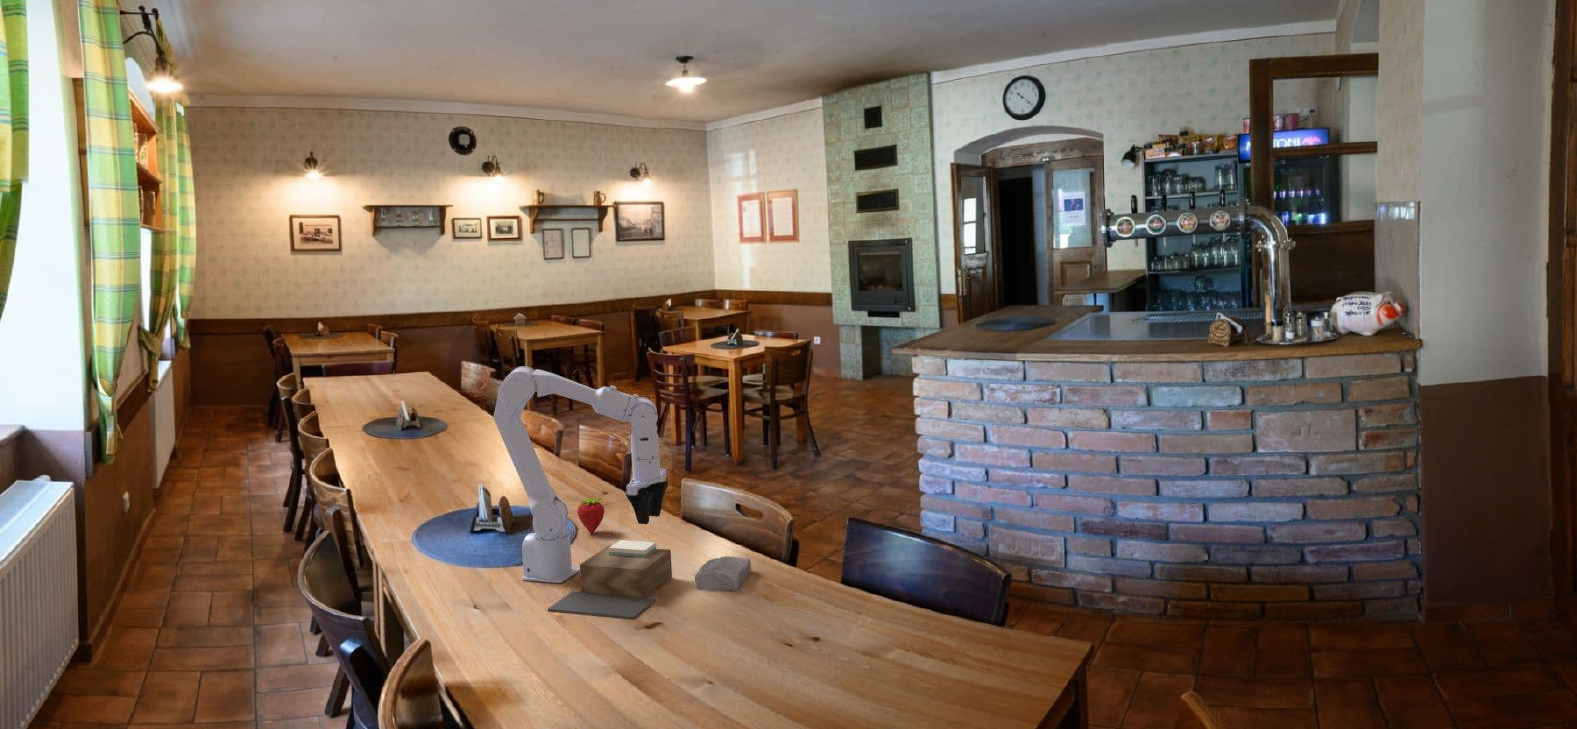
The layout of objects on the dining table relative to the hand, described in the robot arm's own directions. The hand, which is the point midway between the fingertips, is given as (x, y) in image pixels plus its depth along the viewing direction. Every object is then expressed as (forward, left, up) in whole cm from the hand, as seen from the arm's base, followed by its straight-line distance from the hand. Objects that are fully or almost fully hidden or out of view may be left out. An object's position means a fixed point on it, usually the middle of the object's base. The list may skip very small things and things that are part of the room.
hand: (649, 519), depth 193 cm
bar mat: (0, -22, -10) cm, 24 cm away
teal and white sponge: (0, -8, -4) cm, 9 cm away
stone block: (+18, -4, -11) cm, 21 cm away
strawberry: (-25, +19, -11) cm, 33 cm away
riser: (0, -11, -10) cm, 15 cm away
